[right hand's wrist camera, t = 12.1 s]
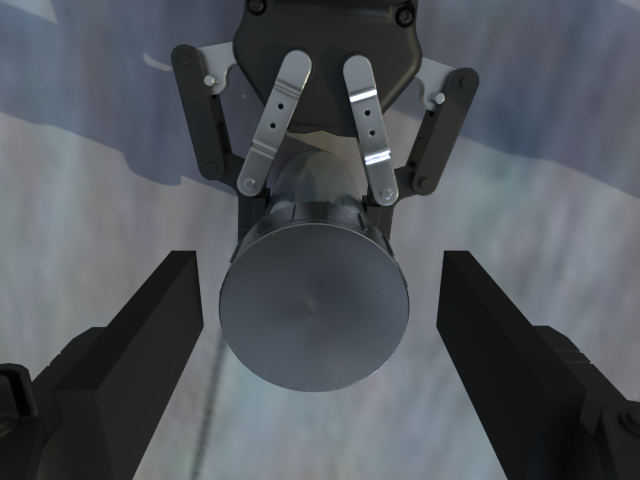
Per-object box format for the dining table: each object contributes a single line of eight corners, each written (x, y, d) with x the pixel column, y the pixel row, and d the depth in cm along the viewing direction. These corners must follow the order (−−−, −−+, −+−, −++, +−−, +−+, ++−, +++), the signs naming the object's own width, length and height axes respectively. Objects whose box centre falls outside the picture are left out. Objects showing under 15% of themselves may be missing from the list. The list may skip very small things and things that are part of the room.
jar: (334, 137, 27) (356, 203, 12) (365, 206, 29) (417, 340, 14) (264, 170, 28) (203, 271, 13) (297, 236, 30) (278, 394, 15)
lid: (358, 171, 14) (365, 188, 12) (420, 315, 16) (437, 354, 14) (201, 242, 15) (180, 271, 13) (277, 372, 17) (271, 417, 14)
